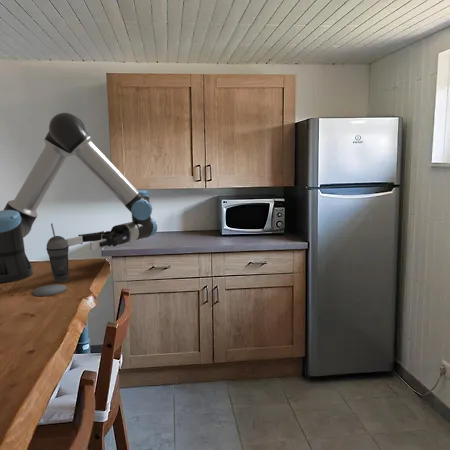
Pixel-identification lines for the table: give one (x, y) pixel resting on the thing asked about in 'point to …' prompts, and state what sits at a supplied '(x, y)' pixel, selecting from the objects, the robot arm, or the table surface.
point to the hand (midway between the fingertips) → (78, 244)
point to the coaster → (49, 290)
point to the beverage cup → (58, 257)
